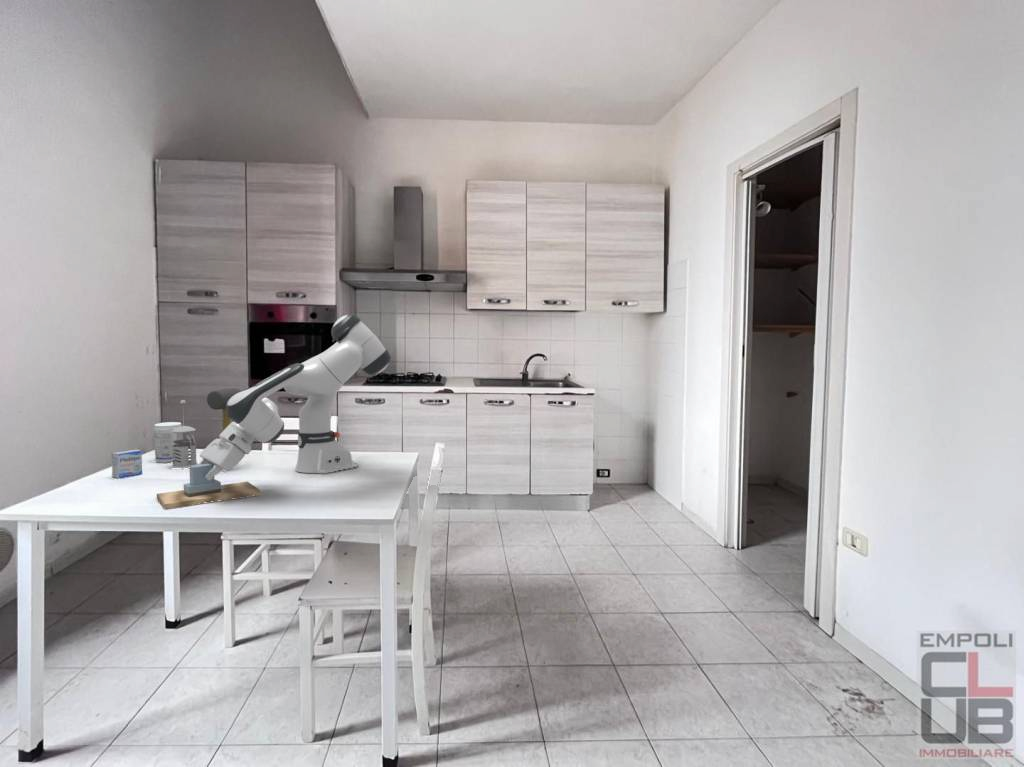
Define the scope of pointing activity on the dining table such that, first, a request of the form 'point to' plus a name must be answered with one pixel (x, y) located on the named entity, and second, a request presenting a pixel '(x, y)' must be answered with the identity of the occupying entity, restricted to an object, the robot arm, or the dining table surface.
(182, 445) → the french press
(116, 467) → the medicine box
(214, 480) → the block
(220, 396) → the rubber mallet
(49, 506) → the dining table surface
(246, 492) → the oak board
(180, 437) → the supplement tub
